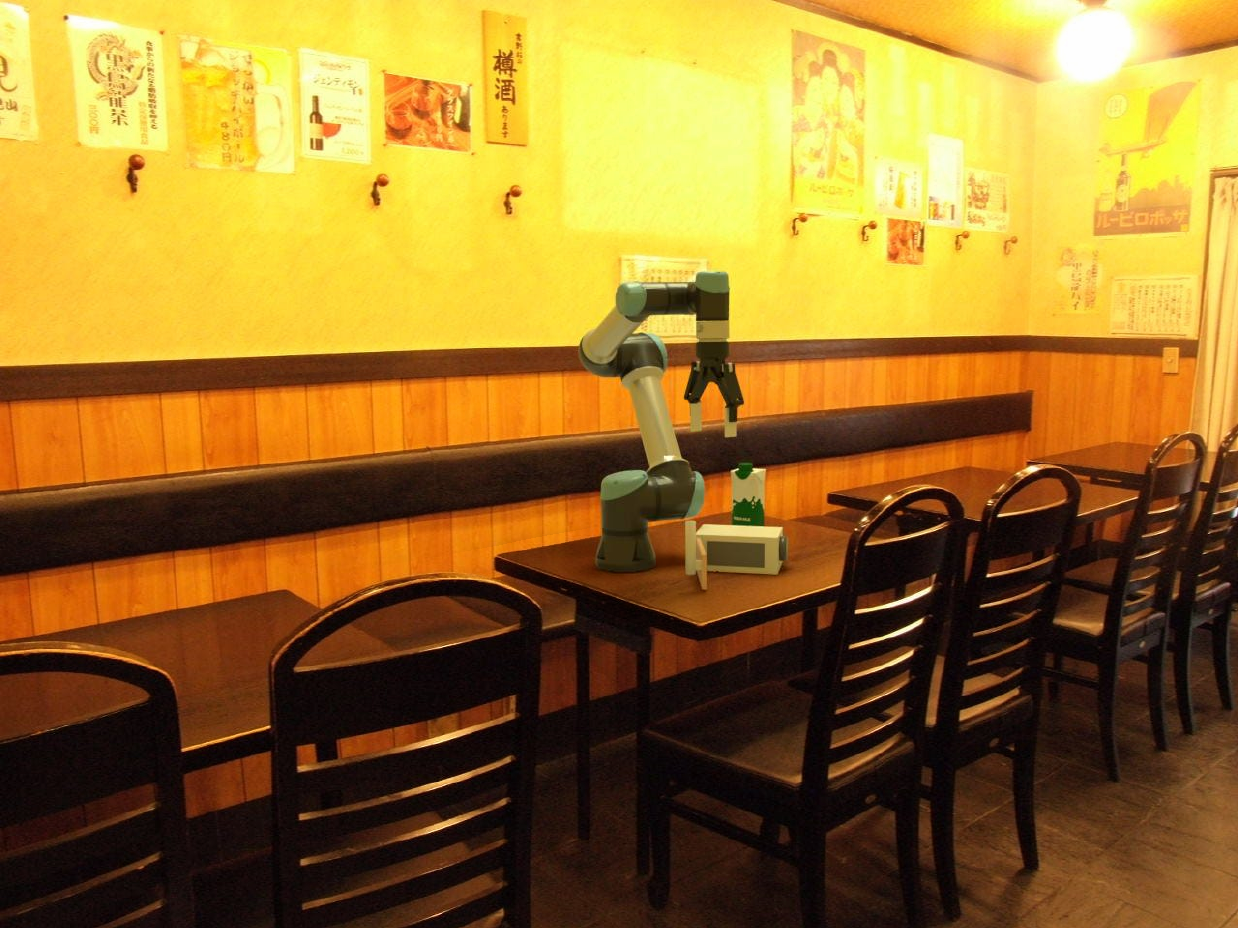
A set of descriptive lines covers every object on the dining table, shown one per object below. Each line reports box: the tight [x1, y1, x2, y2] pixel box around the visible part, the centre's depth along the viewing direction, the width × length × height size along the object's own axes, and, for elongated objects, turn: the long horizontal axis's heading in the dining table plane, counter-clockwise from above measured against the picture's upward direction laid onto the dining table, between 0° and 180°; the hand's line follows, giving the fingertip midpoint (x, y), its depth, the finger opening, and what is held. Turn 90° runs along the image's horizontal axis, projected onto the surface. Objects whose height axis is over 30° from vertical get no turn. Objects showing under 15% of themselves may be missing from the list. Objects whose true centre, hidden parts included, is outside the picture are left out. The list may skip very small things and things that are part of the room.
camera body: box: [696, 523, 789, 576], centre depth 242 cm, size 22×12×9 cm, turn 75°
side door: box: [684, 519, 708, 591], centre depth 229 cm, size 18×5×16 cm, turn 0°
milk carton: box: [730, 462, 767, 527], centre depth 280 cm, size 9×9×20 cm
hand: (712, 434), depth 225 cm, fingers open, 13 cm apart
